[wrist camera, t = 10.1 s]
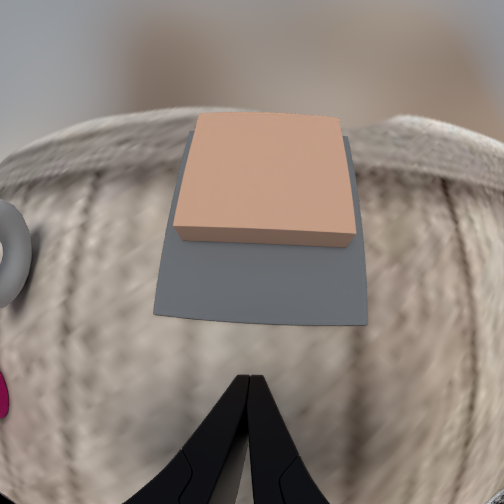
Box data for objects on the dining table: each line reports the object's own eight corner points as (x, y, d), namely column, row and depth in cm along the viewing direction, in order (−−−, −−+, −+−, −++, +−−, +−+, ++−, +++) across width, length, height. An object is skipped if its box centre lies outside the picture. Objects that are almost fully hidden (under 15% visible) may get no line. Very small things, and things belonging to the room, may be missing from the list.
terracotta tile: (356, 233, 17) (338, 118, 21) (172, 225, 18) (199, 113, 22) (345, 248, 20) (333, 137, 23) (183, 241, 20) (204, 133, 24)
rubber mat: (365, 325, 18) (367, 324, 18) (155, 314, 19) (153, 314, 18) (346, 139, 24) (347, 136, 23) (190, 133, 25) (189, 131, 24)
